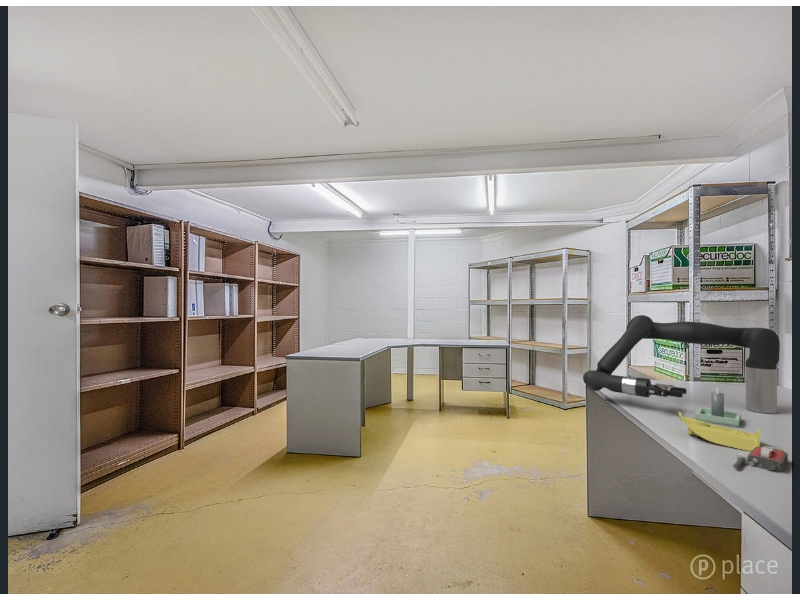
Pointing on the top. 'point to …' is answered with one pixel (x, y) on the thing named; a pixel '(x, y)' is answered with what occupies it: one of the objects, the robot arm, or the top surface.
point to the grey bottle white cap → (717, 403)
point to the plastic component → (722, 434)
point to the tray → (727, 420)
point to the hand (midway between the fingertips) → (684, 392)
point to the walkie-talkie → (763, 458)
